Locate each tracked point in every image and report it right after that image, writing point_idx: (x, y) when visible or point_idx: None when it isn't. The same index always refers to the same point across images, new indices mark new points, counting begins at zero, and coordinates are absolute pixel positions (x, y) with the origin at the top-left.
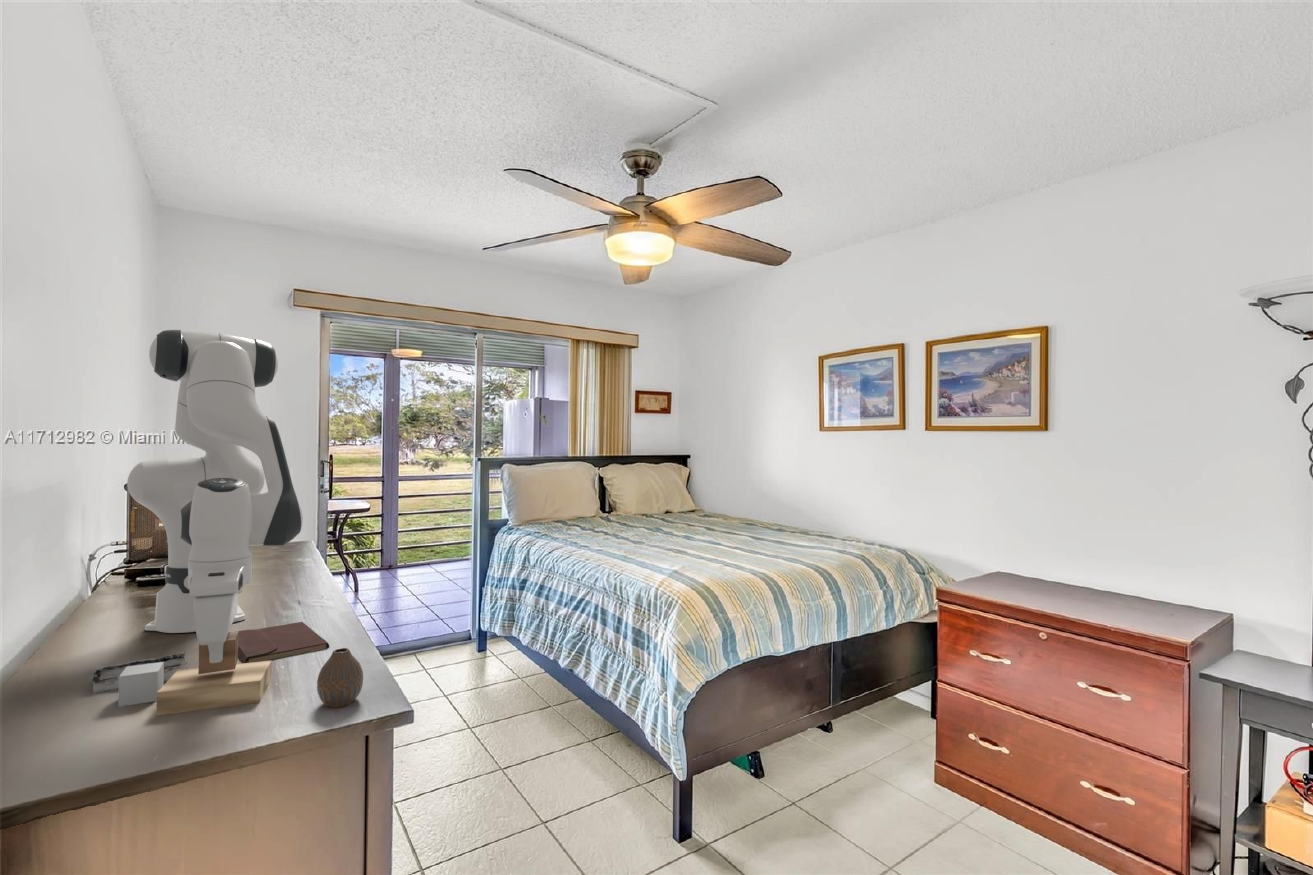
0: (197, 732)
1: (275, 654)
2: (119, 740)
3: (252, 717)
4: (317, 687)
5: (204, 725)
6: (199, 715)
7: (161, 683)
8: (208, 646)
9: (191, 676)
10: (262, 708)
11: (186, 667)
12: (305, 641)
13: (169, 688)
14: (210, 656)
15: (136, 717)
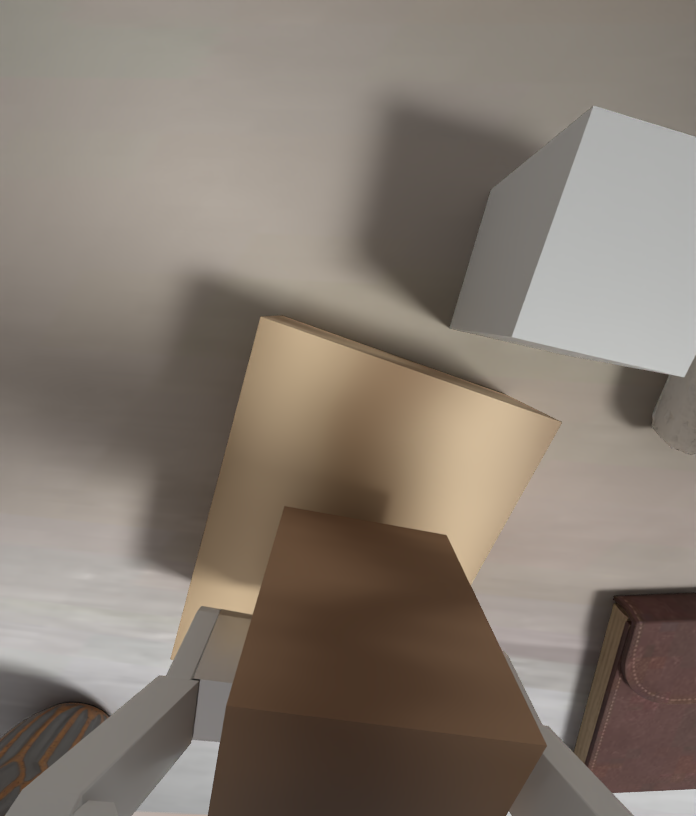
0: (27, 418)
1: (608, 679)
2: (78, 180)
3: (80, 555)
4: (10, 763)
5: (83, 440)
6: (189, 436)
7: (550, 350)
8: (64, 758)
9: (412, 466)
10: (144, 584)
11: (686, 450)
12: (650, 759)
13: (287, 372)
14: (179, 649)
15: (306, 249)
